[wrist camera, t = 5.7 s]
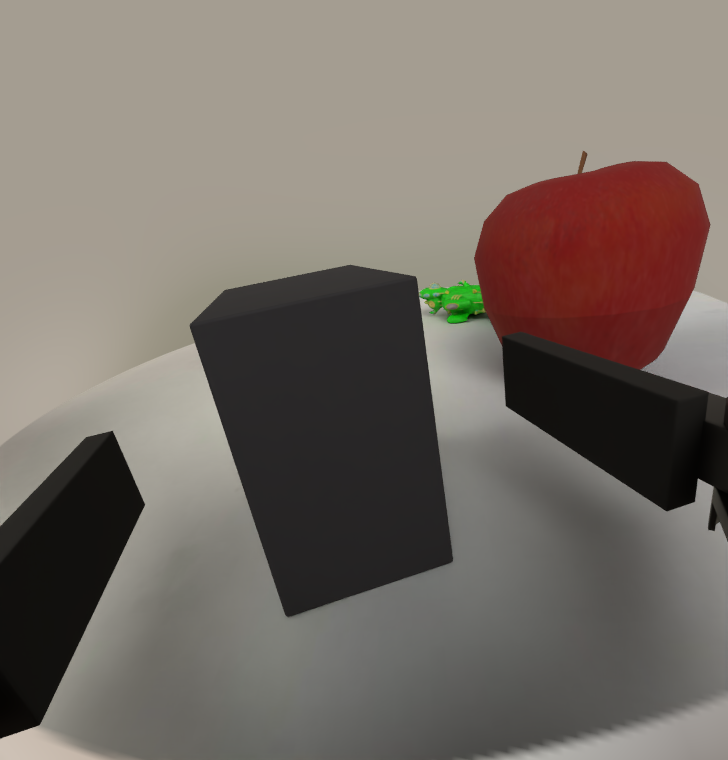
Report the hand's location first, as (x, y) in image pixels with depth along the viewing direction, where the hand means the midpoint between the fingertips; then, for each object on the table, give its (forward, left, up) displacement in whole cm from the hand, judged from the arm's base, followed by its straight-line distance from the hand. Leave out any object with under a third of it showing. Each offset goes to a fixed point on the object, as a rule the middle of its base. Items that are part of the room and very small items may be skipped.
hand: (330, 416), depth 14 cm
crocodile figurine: (+4, +35, -6) cm, 36 cm away
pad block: (-1, +2, -6) cm, 6 cm away
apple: (+10, +16, -6) cm, 20 cm away
